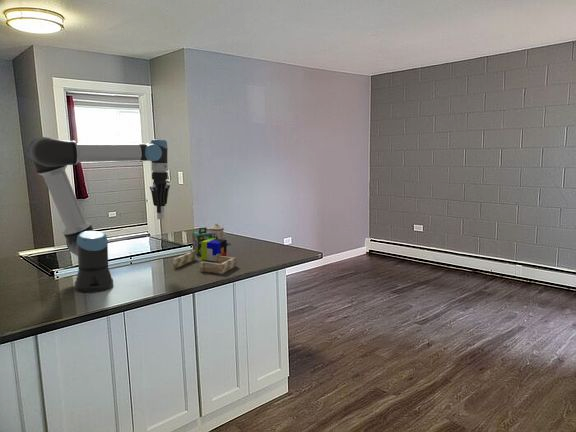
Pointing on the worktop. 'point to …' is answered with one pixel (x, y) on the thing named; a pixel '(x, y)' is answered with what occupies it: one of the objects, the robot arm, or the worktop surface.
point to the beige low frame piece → (219, 266)
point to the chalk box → (200, 239)
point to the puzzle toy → (213, 248)
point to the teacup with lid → (217, 232)
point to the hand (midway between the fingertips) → (160, 219)
